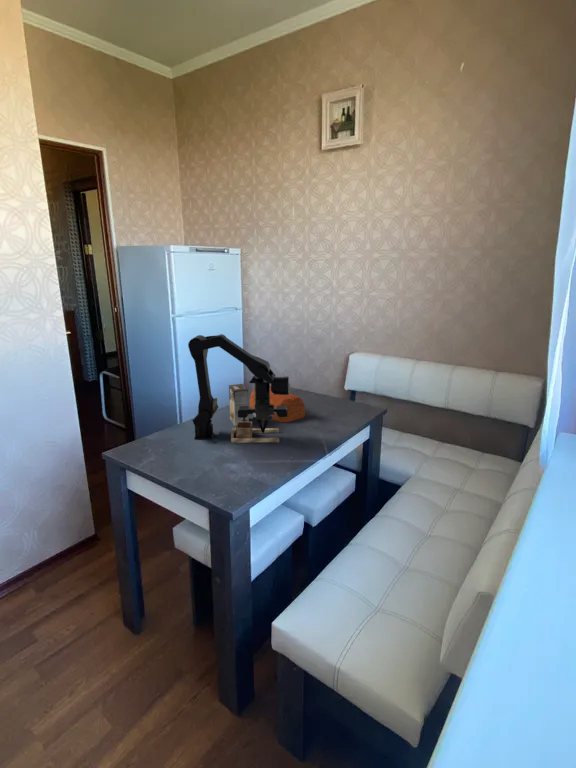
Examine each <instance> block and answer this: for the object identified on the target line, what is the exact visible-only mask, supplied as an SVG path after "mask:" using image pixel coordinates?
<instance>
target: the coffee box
mask: <svg viewBox="0 0 576 768" xmlns="http://www.w3.org/2000/svg"><path fill="white" fill-rule="evenodd" d="M228 398H229V399H228V400H229V420H230V421H231V423H232V424H233V425H234V427H236V424H237V422H250V421H249V415H250V414H248V416H247V417H246V418H239V417H238V408H239V407H240V406H249V389H248V388H247V387H246V385H245V384H244V383H237V384H229V385H228Z"/></svg>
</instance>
